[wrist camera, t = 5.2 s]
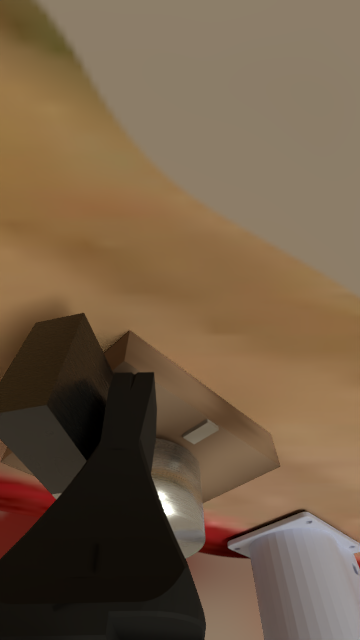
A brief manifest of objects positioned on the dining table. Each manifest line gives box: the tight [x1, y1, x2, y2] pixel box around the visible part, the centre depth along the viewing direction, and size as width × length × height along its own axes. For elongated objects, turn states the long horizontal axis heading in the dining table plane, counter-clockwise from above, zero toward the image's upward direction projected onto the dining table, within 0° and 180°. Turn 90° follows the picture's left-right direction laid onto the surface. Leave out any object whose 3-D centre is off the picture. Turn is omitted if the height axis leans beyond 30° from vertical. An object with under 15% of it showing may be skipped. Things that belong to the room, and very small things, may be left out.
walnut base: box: [1, 331, 280, 503], centre depth 18 cm, size 11×10×2 cm
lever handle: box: [0, 313, 205, 559], centre depth 13 cm, size 13×6×4 cm, turn 13°
